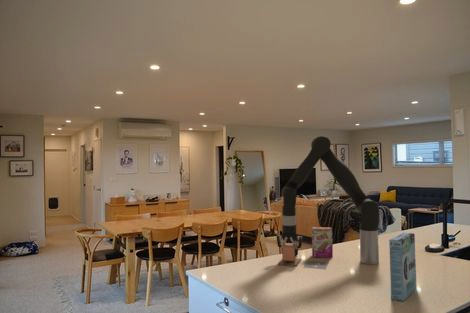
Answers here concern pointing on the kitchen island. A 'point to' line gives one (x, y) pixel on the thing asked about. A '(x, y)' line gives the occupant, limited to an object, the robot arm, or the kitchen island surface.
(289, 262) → the walnut board
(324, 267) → the tile
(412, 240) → the gum box
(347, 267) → the kitchen island surface
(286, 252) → the terracotta block
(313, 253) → the candy bar box
